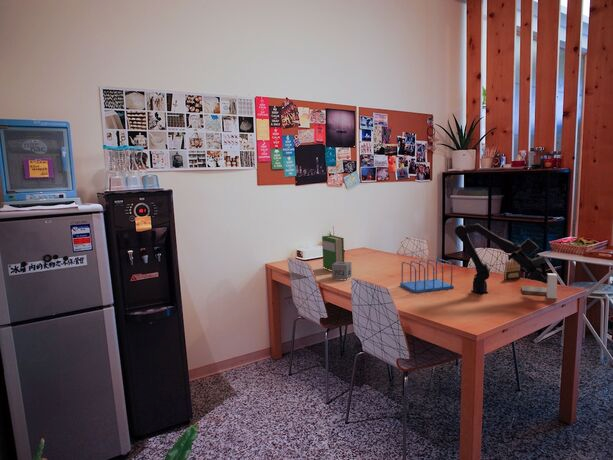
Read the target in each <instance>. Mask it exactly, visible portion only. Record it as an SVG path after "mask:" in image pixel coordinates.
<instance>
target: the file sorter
mask: <svg viewBox="0 0 613 460" xmlns="http://www.w3.org/2000/svg"><path fill="white" fill-rule="evenodd" d="M430 261H431V262H433V263H435V265H434V264H433V263H431V262H430ZM439 261H442V262H444V263H448V264H450V267H451V268H450V269H451V270H450V271H451V272H450V283H448V282H445V281H444V265H443V263H441V262H439ZM421 262H423V263H425V264H426V266H427V267H426V266H425V265H424V264H422V263H421ZM412 263H415V264H417V265H418V280H417V269H416V266H415V265H414V264H412ZM404 264H407V265H409V266H410V267H409V269H410V271H409V273H410V274H409V280H410V281H405V282H403V281H404V280H403V279H404V276H403V274H404V266H403V265H404ZM438 264H439V265H440V266H441V279H438V278H437V277H438ZM429 265H431V266H432V268H433V269H432V272H433V273H432V276H433V277H432V278H431V279H429ZM421 266H422V267H423V280H421ZM412 267H413V268H414V281H412ZM453 269H454V268H453V264H452V262H450V261H448V260H444V259H441V258H437V259H436V260H433V259H428V260H427V261H425V260H422V259H420V260H419V262H417V261H414V260H411V261H410V263H409V262H406V261H402V263H401V282H400V283H399V286H400V287H403V288H405V289H406V290H409V291H410V292H412V293H414V294H417V293H418V292H420V293H425V292H435V291H442V290H443V291H446V290H452V289H454V288H455V286H454V285H453ZM426 270H427V271H426ZM426 273H427V274H426ZM426 275H427V278H426ZM418 294H419V293H418Z"/></svg>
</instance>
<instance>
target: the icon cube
mask: <svg viewBox="0 0 613 460" xmlns="http://www.w3.org/2000/svg"><path fill="white" fill-rule="evenodd" d="M351 276H352V277H353V272H352V262H351V261H344V262H335V263H334V264H332V272H331V279H332V278H333V279H346V280H347V279H348V278H350V277H351ZM352 277H351V278H352ZM351 278H350V279H351ZM348 280H349V279H348ZM348 280H347V281H348Z"/></svg>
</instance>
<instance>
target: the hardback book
mask: <svg viewBox="0 0 613 460" xmlns="http://www.w3.org/2000/svg"><path fill="white" fill-rule="evenodd" d="M321 239H322V241H321V243H322V244H321V245H322V246H321V247H322V268H323V267H325V268H327V269H330V270H332V264H334V263H335V262H345V246H344V245H345V243H344V237H341V236H336V235H324V236H323V235H322V236H321Z"/></svg>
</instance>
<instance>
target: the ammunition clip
mask: <svg viewBox="0 0 613 460" xmlns="http://www.w3.org/2000/svg"><path fill="white" fill-rule="evenodd" d="M521 274H522V273H521V267H520V265H519V264H518V263H517V262H516V261H514V260H513V259H511V260H506V261H505V265H504V273H503V276H504V277H503V280H505V281H510V280H520V279H519V278H521V277H522V276H521Z"/></svg>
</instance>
